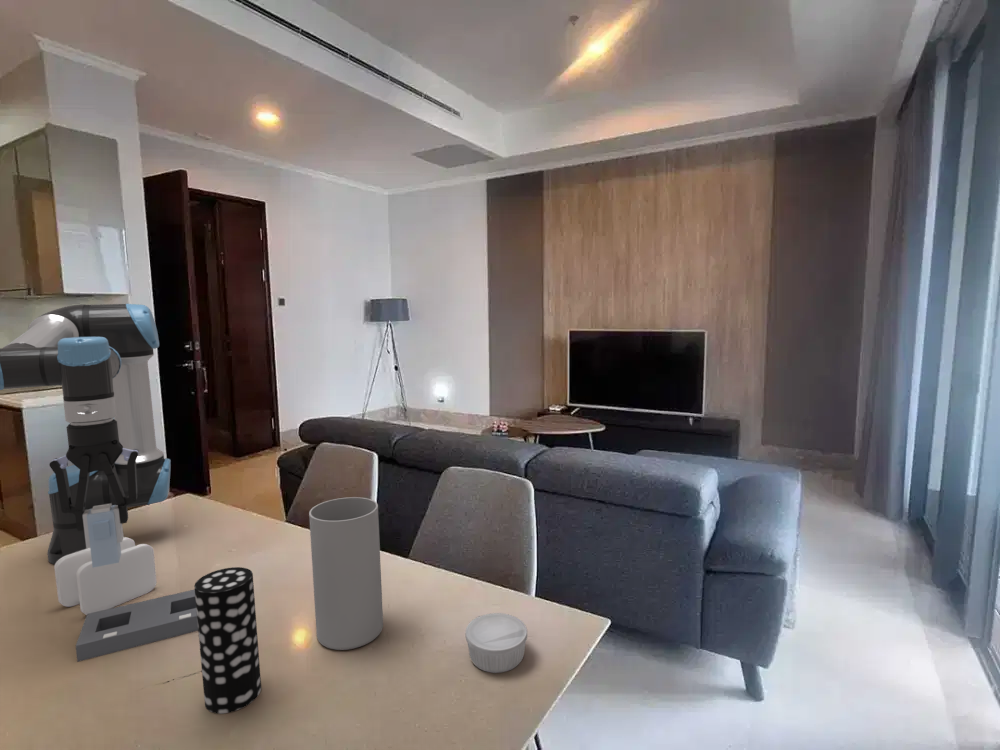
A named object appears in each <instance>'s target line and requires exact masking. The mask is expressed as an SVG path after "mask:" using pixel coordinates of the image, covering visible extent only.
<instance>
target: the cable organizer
mask: <svg viewBox="0 0 1000 750" xmlns="http://www.w3.org/2000/svg"><path fill="white" fill-rule="evenodd" d="M120 547H121V557H120V560H119V563H114V564H109V565H103V566H98V567H93V566H92V557H91V548H87V549H84V550H81V551H78V552H75V553H72V554H69V555H66V556H64V557H62V558H60V559H59V560H58V561H57V562H56V563H55V564H54V565H53V566H54V567H53V568H54V578H55V584H56V593H57V598H58V599H57V600H58V603H59V604H60V605H61V606H64V607H66V608H69V607H74V606H77V605H79V608H80V612H81V613H83V614H84V615H86V616H87V614H89V613H93V612H98V611H102V610H106V609H111V608H115V607H119V606H121V605H123V604H125V603H127V602H130V601H132V600H134V599H137V598H139V597H141V596H144V595H146V594H148V593H151V592H152V591H153V590H154V589H155V588H156V585H157V583H158V582H157V572H156V563H155V553H154V547H153V546H152V545H149V544H147V543H140V544H137V545H136V542H135V540H134V539H133V538H129V537H126V536H124V537H123V540H122V542H120Z"/></svg>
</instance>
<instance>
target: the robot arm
mask: <svg viewBox="0 0 1000 750" xmlns="http://www.w3.org/2000/svg"><path fill="white" fill-rule="evenodd" d="M158 333H159V332H158V329H157V325H156V322H155V318H154V315H153V312H152V311H151V309H150V308H149V306H147V305H145V304H139V303H138V304H135V303H110V304H109V303H108V304H75V305H73V304H72V305H67V306H63V307H59V308H56V309H53V310H51V311H47V312H45V313H43V314H41V315H39V316H37V317H35V319H33V320H32V321H31V322H30V323H29V325H28V328H27V330H26V331H24V332H23V333H22V334H20V335H19V336H18V337H16V338H14V339H13V340H12V341H11V342H9V343H8V344H6V345H5V346H3V347H1V348H0V391H2V390H3V391H4V390H11V389H22V388H25V389H26V388H36V387H53V386H61V388H62V396H63V397H62V398H63V410H64V418H65V422H67V423H69V424H68V425H67V426H66V435H67V436H66V437H67V443H68V445H67V446H68V449H67V451H66V453H65V455H63V456H61V457H58V458H57V457H56V458H53V459H52V460H51V461H50V462H49V464H48V465H49V467H50V469H51V470H52V471H53V473H52V474H51V475H50V476H49V477H48V492H47V493H48V495H49V503H50V504H49V505H50V512H51V520H52V526H53V527H52V528H53V531H52V534H51V538H50V542H49V544H48V547H47V548H48V549H47V560H48V563H50V564H52V565H55V563H56V562H57V561H58V560H59V559H60V558H62V557H64V556H66V555H69V554H72V553H75V552H78V551H81V550H84V549H87V548H90V540H89V531H88V522H87V515H88V513H89V511H90V509H92V508H93V506H98V505H104V504H111V503H112V505H115V508H114V517H115V526H116V536H117V543H120V542H122V540H123V537H125V536H124V529H123V524H127V522H128V519H129V511H128V508H132V507H133V508H134V507H138V506H150V505H151V504H152V505H153V504H158V503H162V502H164V501H165V500H167V498H168V496H169V491H170V484H171V482H170V481H171V480H170V479H171V466H172V464H171V462H172V461H171V458H165V455H164V452H163V451H162V450H161V449H159V448H157V441H156V432H155V431H156V429H155V422H154V411H153V401H152V400H153V399H152V391H151V384H150V383H151V382H150V381H151V380H150V372H149V364H148V363H149V360H151V359H152V357H154V355H155V353H154V349H155V350H156V349H157V348H159V347H160V340H159V334H158ZM68 462H70V463H72V465H69V463H68Z"/></svg>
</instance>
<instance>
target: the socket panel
mask: <svg viewBox="0 0 1000 750" xmlns="http://www.w3.org/2000/svg"><path fill="white" fill-rule="evenodd" d="M193 632H198V621H197V610H196V599H195V588H194V589H190V590H186V591H182V592H177V593H173V594H168V595H164V596H160V597H156V598H152V599H151V598H150V599H147V600H142V601H138V602H134V603H128V604H124V605H119V606H115V607H113V608H110V609H106V610H102V611H98V612H93V613H89V614H87V615H86V616H85V619H84V622H83V625H82V627H81V630H80V633H79V636H78V639H77V641H76V644H75V653H76V661H77V663H78V662H82V661H86V660H89V659H94V658H98V657H101V656H105V655H106V656H107V655H109V654H112V653H116V652H117V653H118V652H121V651H126V650H129V649H131V648H136V647H140V646H144V645H148V644H151V643H155V642H159V641H163V640H167V639H171V638H175V637H179V636H182V635H186V634H190V633H193Z"/></svg>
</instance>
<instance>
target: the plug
mask: <svg viewBox="0 0 1000 750" xmlns="http://www.w3.org/2000/svg"><path fill="white" fill-rule="evenodd" d="M114 508H115V505H112V503H111V504H104V505H98V506H93V508H92V509H90V511H89V513H88V515H87V522H88V531H89V540H90V548H91V557H92V566H93V567H98V566H103V565H109V564H114V563H119V560H120V557H121V547H120V543H117V536H116V526H115V517H114Z"/></svg>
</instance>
